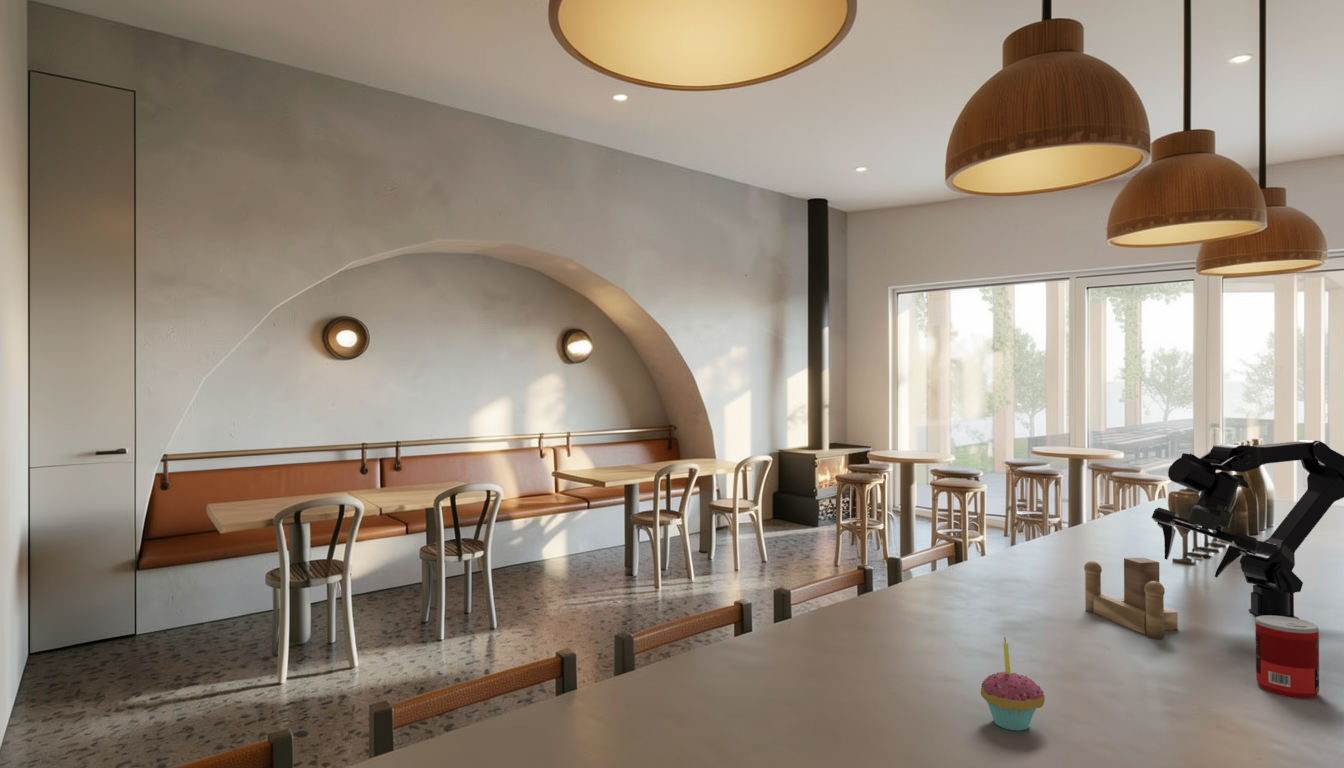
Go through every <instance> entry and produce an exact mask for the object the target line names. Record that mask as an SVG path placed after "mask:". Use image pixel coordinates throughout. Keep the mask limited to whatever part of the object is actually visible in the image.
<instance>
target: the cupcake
mask: <svg viewBox="0 0 1344 768" xmlns="http://www.w3.org/2000/svg"><path fill="white" fill-rule="evenodd" d="M1003 641H1004V642H1003V643H1002V644H1003V645H1002V647H1003V657H1004V669H1005V671H1002V672H996V673H992V674H990V675H987V677H986V678H984V679H983V680H982V683H981V689H980V695H981V697H982V699H984V700H985V701H986V703H987V705H988V707H989V711H990V714H991V717H992V721H993V723H994V724H995V725H996V726H998V727H1001V728H1002V729H1006V730H1010V731H1019V732H1020V731H1025V730H1027V729H1029V727H1030V725H1031V722H1032V719H1033V717H1034V714H1035V712H1036V710H1037V709H1040V708H1042V707H1043V706H1044V704H1045V699H1046V698H1045V694H1044V690H1042V688H1041V686H1040V685H1038V684H1037V683H1036V682H1035V681H1034V680H1033V679H1031V678H1029V677H1027V676H1026V675H1025V676H1024V675H1022V674H1018V673H1017V672H1011V664H1010V654H1009V653H1010V652H1009V642H1007V638H1006V636H1004V637H1003Z"/></svg>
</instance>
